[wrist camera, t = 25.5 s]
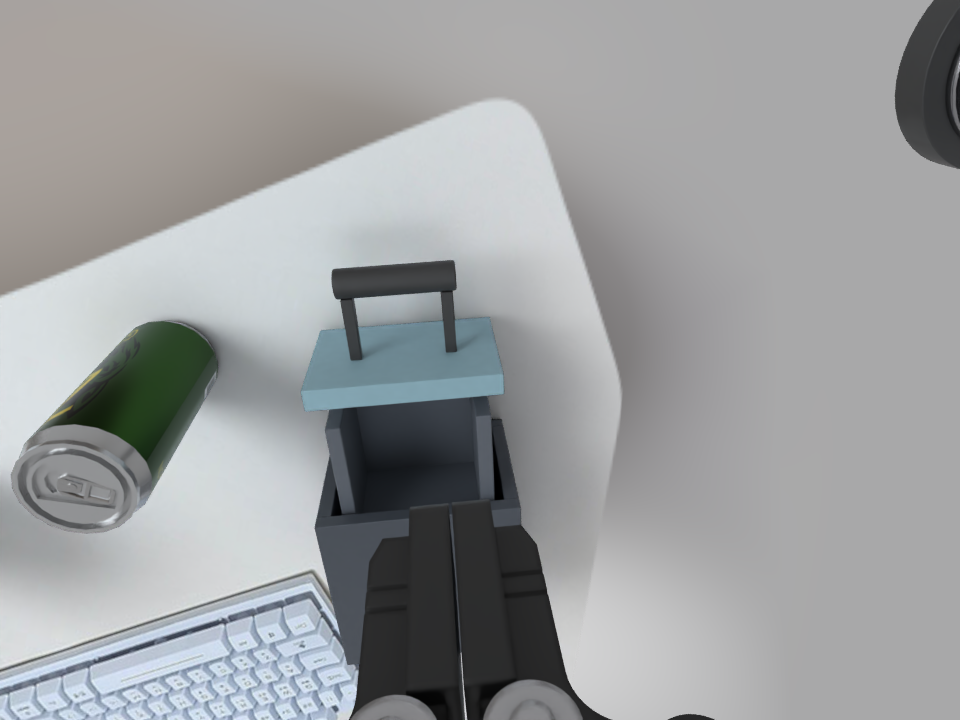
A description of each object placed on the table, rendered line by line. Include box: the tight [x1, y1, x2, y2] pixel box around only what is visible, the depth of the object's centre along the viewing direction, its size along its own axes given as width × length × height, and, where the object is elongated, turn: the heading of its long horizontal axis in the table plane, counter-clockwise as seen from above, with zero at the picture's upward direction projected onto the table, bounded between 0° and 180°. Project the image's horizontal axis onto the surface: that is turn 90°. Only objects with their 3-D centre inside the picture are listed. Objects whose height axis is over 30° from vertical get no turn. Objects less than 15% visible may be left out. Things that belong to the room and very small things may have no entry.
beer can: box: [11, 321, 218, 534], centre depth 31 cm, size 5×5×12 cm
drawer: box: [301, 260, 504, 515], centre depth 34 cm, size 15×10×7 cm, turn 3°
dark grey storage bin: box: [315, 419, 521, 665], centre depth 39 cm, size 12×11×9 cm
